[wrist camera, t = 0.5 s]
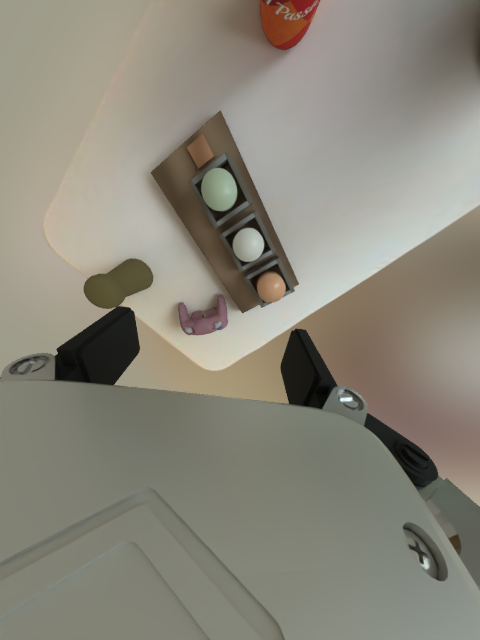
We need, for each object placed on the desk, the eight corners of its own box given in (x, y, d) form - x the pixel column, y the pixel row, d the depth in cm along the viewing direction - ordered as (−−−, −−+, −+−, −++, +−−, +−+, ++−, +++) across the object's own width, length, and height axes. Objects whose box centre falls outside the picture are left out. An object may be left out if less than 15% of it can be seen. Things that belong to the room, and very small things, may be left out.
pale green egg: (226, 165, 24) (223, 158, 21) (243, 199, 26) (242, 197, 23) (199, 186, 25) (194, 182, 23) (217, 217, 27) (214, 217, 24)
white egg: (253, 221, 27) (254, 221, 25) (267, 248, 29) (269, 251, 26) (228, 237, 28) (226, 239, 26) (242, 262, 30) (242, 267, 28)
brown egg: (275, 265, 30) (278, 270, 28) (286, 288, 32) (290, 294, 29) (252, 279, 31) (252, 284, 29) (263, 299, 33) (265, 306, 31)
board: (222, 117, 25) (217, 99, 21) (296, 280, 35) (302, 288, 31) (156, 175, 28) (141, 168, 24) (242, 308, 39) (242, 319, 35)
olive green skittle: (129, 291, 37) (89, 316, 28) (115, 260, 35) (65, 277, 25) (157, 287, 37) (126, 312, 27) (146, 256, 34) (106, 272, 24)
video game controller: (187, 314, 41) (184, 341, 37) (177, 301, 38) (172, 330, 34) (229, 305, 40) (230, 333, 36) (223, 291, 36) (224, 320, 32)
